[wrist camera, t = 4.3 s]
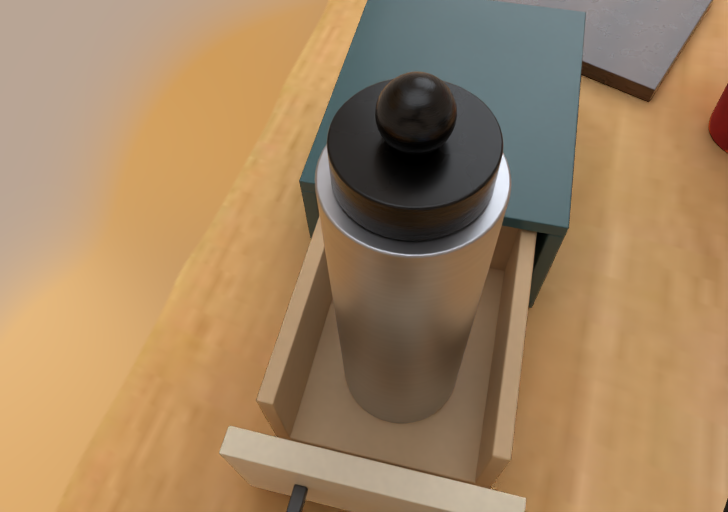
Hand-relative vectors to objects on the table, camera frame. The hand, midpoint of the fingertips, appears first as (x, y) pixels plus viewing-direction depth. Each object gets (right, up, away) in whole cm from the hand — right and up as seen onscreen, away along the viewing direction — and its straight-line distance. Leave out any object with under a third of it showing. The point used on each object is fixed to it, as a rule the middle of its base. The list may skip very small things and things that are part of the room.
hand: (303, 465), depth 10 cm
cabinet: (+6, +9, +31) cm, 33 cm away
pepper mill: (+3, -3, +22) cm, 22 cm away
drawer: (+3, -5, +22) cm, 23 cm away
